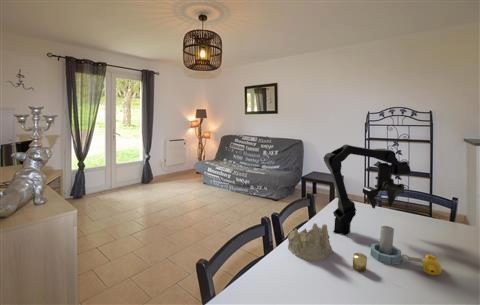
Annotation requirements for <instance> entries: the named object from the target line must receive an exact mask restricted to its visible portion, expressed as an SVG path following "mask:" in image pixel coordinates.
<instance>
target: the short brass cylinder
mask: <svg viewBox="0 0 480 305" xmlns="http://www.w3.org/2000/svg"><path fill="white" fill-rule="evenodd" d="M367 266H368V257H367V255H365V254H364V253H361V252H355V253H353V256H352V270H354V271H355V272H358V273H361V274H362V273H365V272H367Z"/></svg>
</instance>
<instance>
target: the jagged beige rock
mask: <svg viewBox="0 0 480 305" xmlns="http://www.w3.org/2000/svg"><path fill="white" fill-rule="evenodd" d="M311 227H312V228H311V229H309V230H308V231H307V229H306V228H304V229H303V230H302V231H299V232H298V228H294V229H291V230H290V231H289V233H288V235H287V239H288V240H287V241H288V245H287V249H288V250H289V251H290V252H291V253H292V254H293V255H294V254H295V255H294V256H295V257H298V258H300V257H301V258H300V259H302V258H303V260H305V259H307V260H306V261H309V260H310V261H309V262H321V261H323V260H324V259H326V258H328V257H329V256H331V255H332V254H333V247H332V245H331V242H330V236H329V231H328V225H327V224H325V223H323V224H322V226H321V227H320V226H318V223H317V222H314V223H313V224H312V226H311ZM320 260H321V261H320Z"/></svg>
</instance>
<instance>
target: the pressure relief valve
mask: <svg viewBox="0 0 480 305" xmlns="http://www.w3.org/2000/svg"><path fill="white" fill-rule="evenodd" d="M403 257H406V258H407V260H405V259H404V258H403ZM401 262H405V263H408V262H413V263H421V264H422V267H423V268H422V270H423V272H424V273H426V274H428V275H431V276H434V277H435V276H438V275H440V274H441V273H442V268H441V263H439V262H438V260H437V257H436V256H434V255H433V254H426V255H425V256H424V258H423V257H416V256H415V257H414V256H409V255H407V254H401Z"/></svg>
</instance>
